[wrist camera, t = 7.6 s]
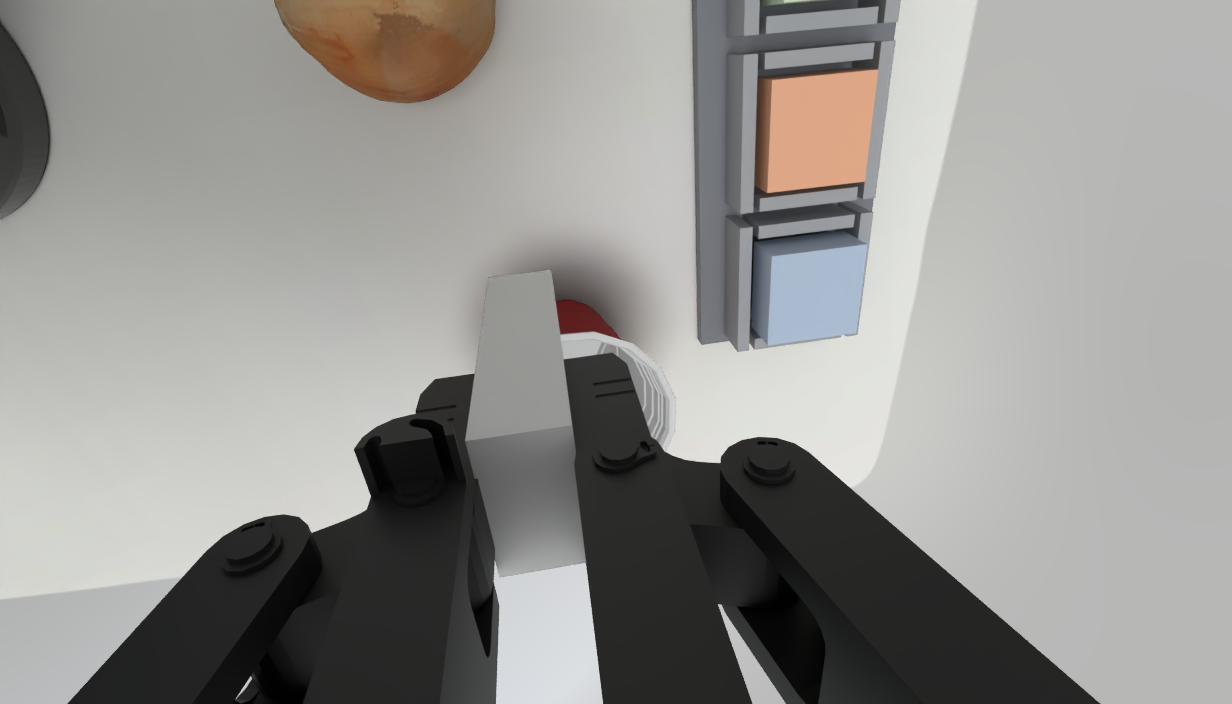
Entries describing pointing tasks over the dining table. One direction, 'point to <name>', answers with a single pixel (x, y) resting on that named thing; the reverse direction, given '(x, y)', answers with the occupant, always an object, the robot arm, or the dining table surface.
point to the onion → (393, 42)
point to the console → (726, 130)
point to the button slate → (807, 286)
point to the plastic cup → (594, 336)
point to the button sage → (786, 2)
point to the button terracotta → (813, 128)
